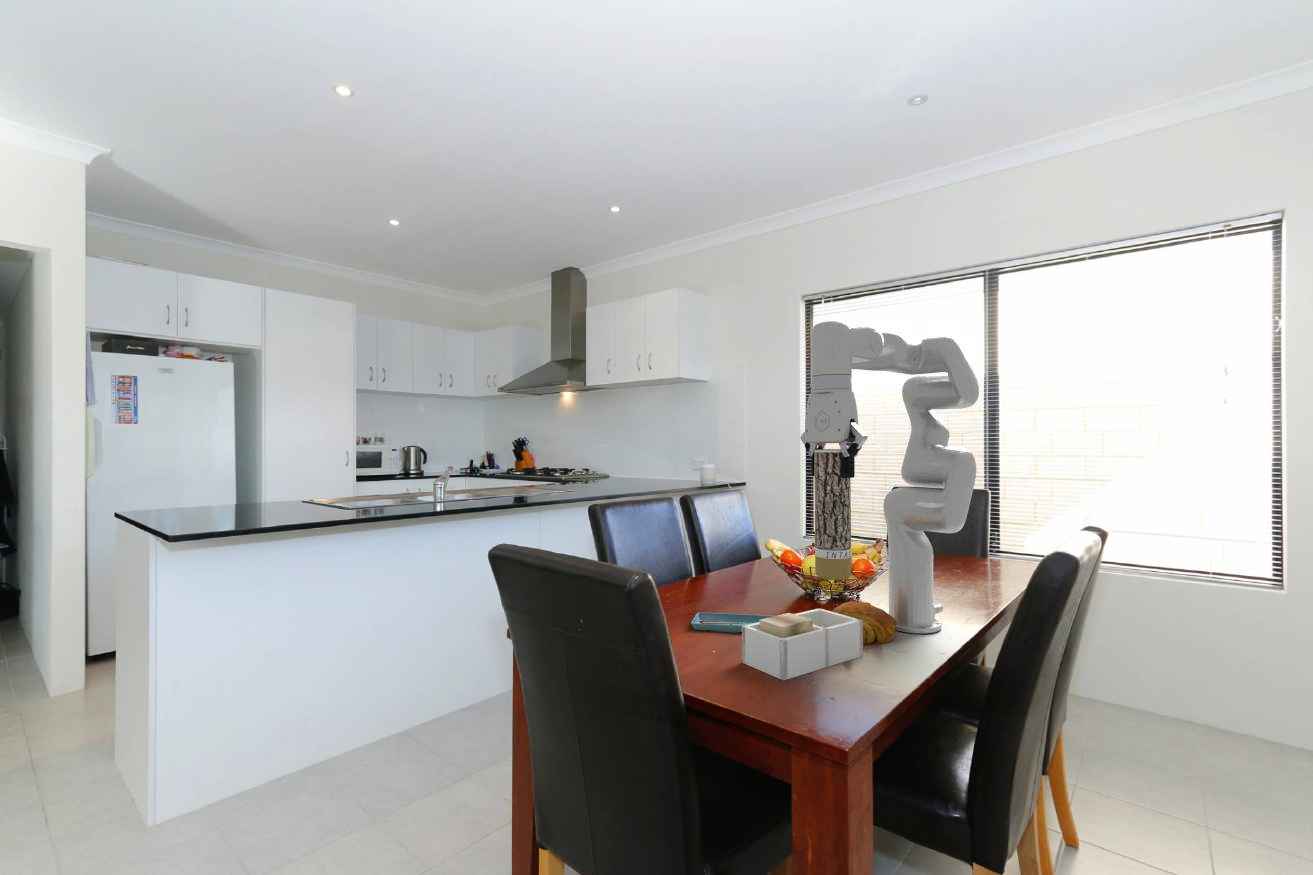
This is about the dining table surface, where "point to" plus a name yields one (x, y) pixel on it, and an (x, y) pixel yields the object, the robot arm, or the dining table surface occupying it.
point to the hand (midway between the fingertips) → (832, 476)
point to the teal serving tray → (724, 621)
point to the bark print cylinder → (832, 516)
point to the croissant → (870, 621)
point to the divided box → (804, 645)
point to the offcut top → (786, 625)
